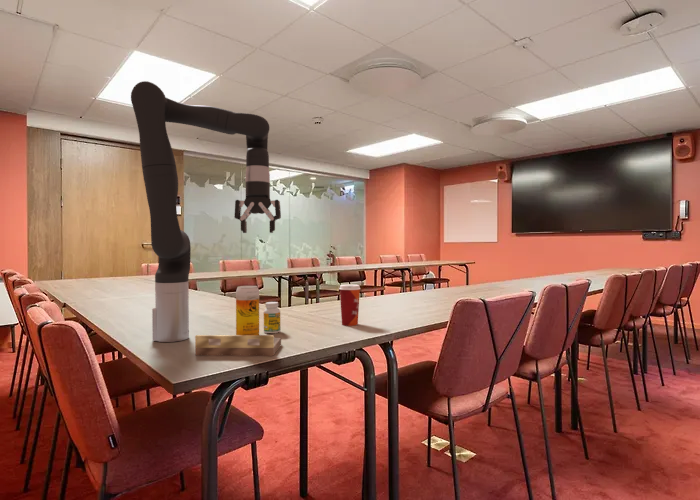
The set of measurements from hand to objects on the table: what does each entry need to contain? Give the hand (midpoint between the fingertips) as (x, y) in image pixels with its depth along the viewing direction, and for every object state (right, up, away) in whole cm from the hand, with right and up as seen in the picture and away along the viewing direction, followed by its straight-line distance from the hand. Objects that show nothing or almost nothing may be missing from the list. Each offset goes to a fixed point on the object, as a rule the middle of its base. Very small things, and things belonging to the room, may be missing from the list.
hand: (257, 232), depth 131 cm
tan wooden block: (0, -32, -20) cm, 38 cm away
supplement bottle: (+4, -32, +2) cm, 33 cm away
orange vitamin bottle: (+2, -31, -20) cm, 36 cm away
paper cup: (+29, -32, +15) cm, 46 cm away
